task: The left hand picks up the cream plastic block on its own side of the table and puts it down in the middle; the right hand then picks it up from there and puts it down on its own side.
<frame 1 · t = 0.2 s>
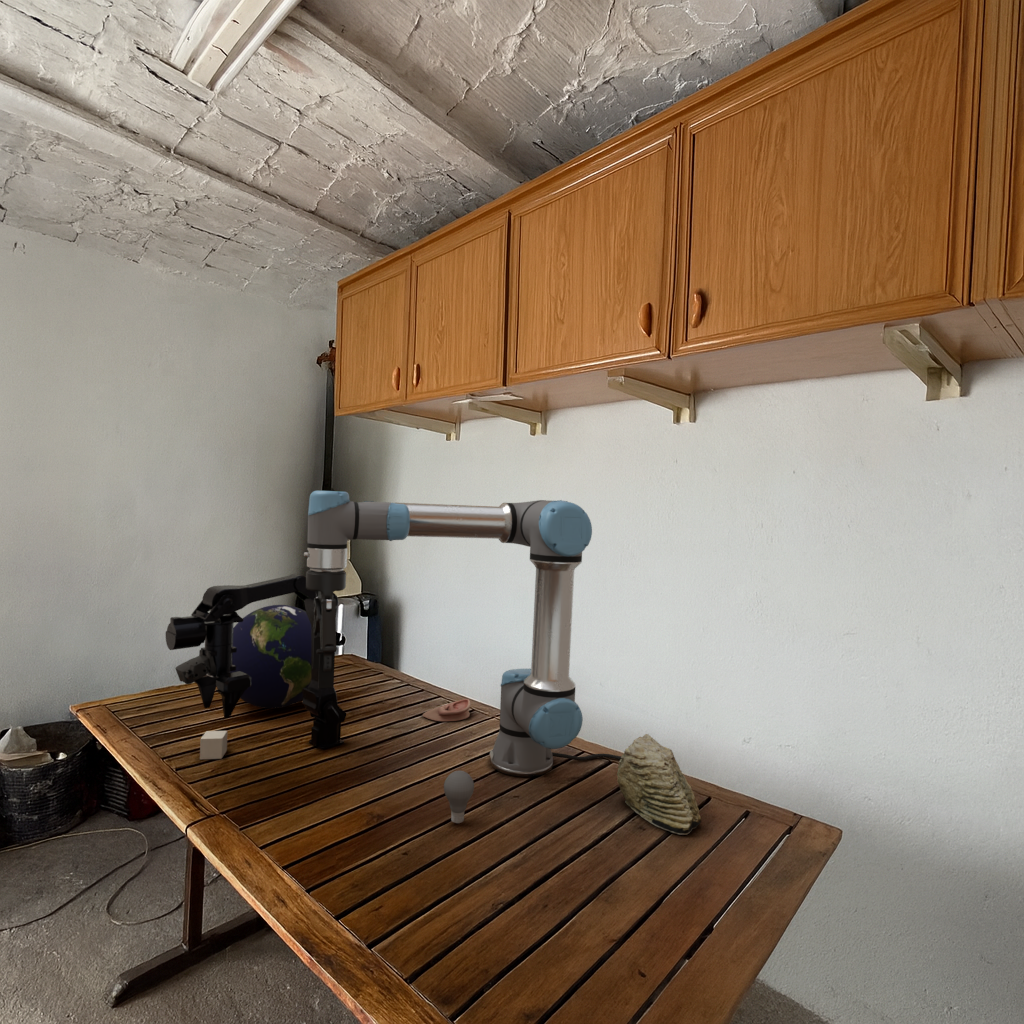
left hand: (216, 712, 141), 14 cm above the table, tool pointing down, fingers open, 9 cm apart
right hand: (322, 677, 124), 28 cm above the table, tool pointing down, fingers open, 13 cm apart
fossil: (654, 815, 132), on the table
block: (213, 754, 152), on the table
light bulb: (457, 822, 126), on the table
anatomical model: (446, 715, 187), on the table
globe: (275, 706, 188), on the table
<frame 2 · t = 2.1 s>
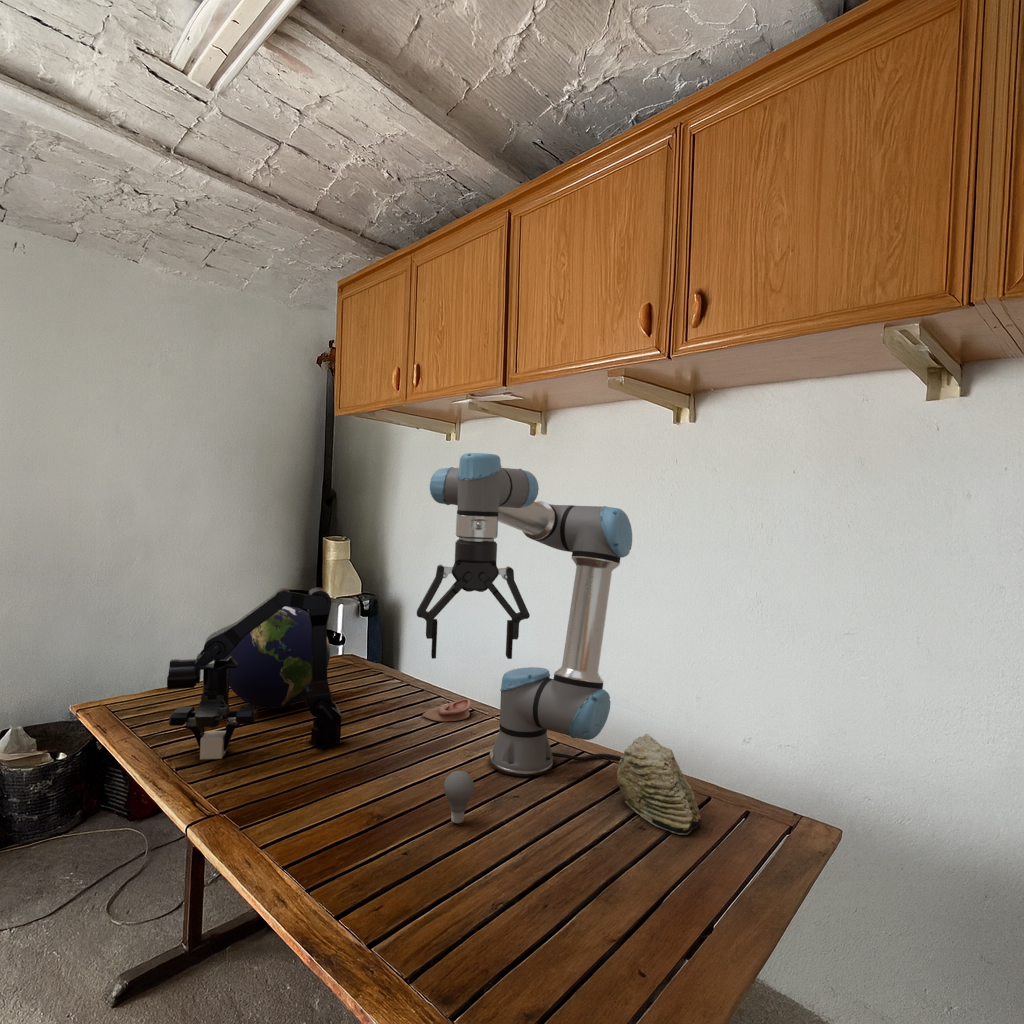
left hand: (213, 750, 152), 1 cm above the table, tool pointing down, fingers closed on block, 5 cm apart
right hand: (471, 657, 114), 36 cm above the table, tool pointing down, fingers open, 13 cm apart
block: (213, 754, 152), on the table, touching left hand
everything else where it was.
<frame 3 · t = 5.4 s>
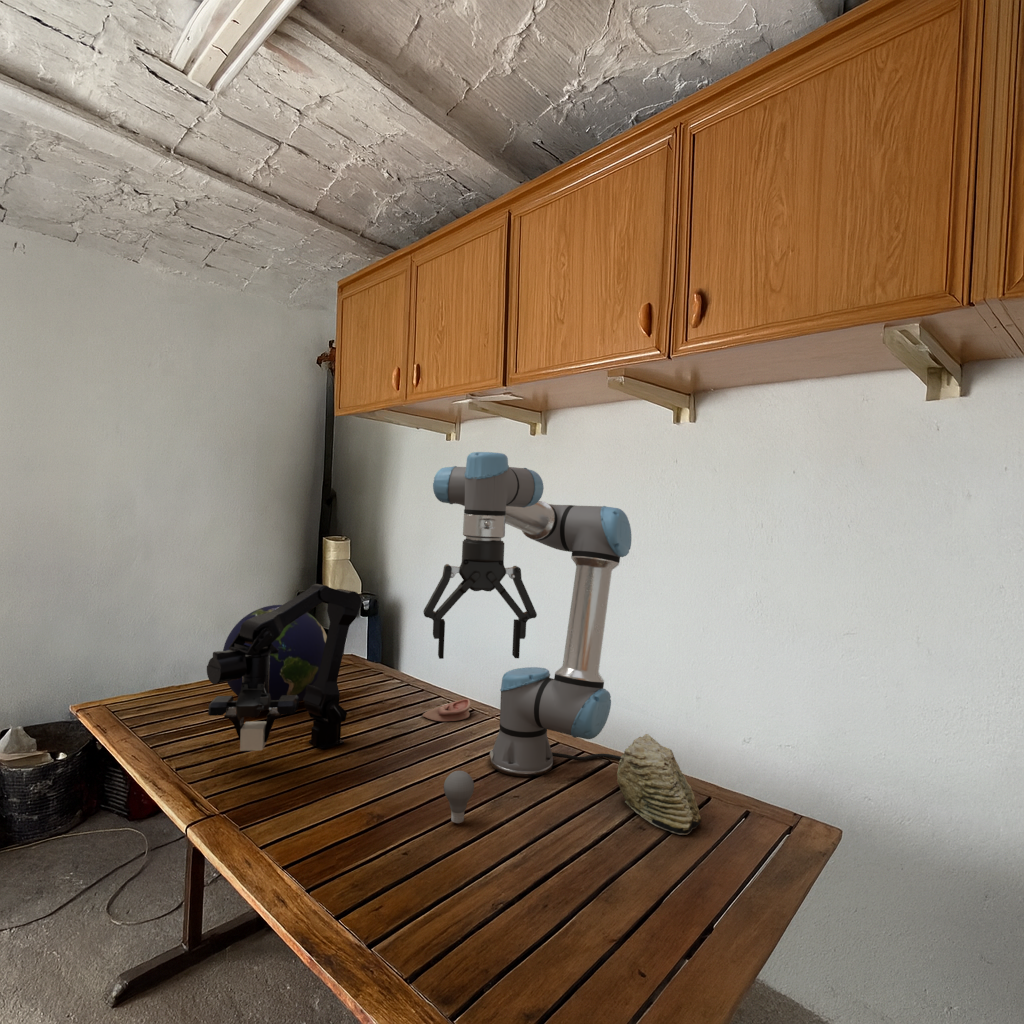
left hand: (253, 742, 146), 6 cm above the table, tool pointing down, fingers closed on block, 5 cm apart
right hand: (478, 656, 114), 36 cm above the table, tool pointing down, fingers open, 13 cm apart
block: (253, 746, 146), point 5 cm above the table, touching left hand
everything else where it was.
when the left hand's fingers open (2 cm above the table, at t = 8.9 s): block drops 1 cm, on the table.
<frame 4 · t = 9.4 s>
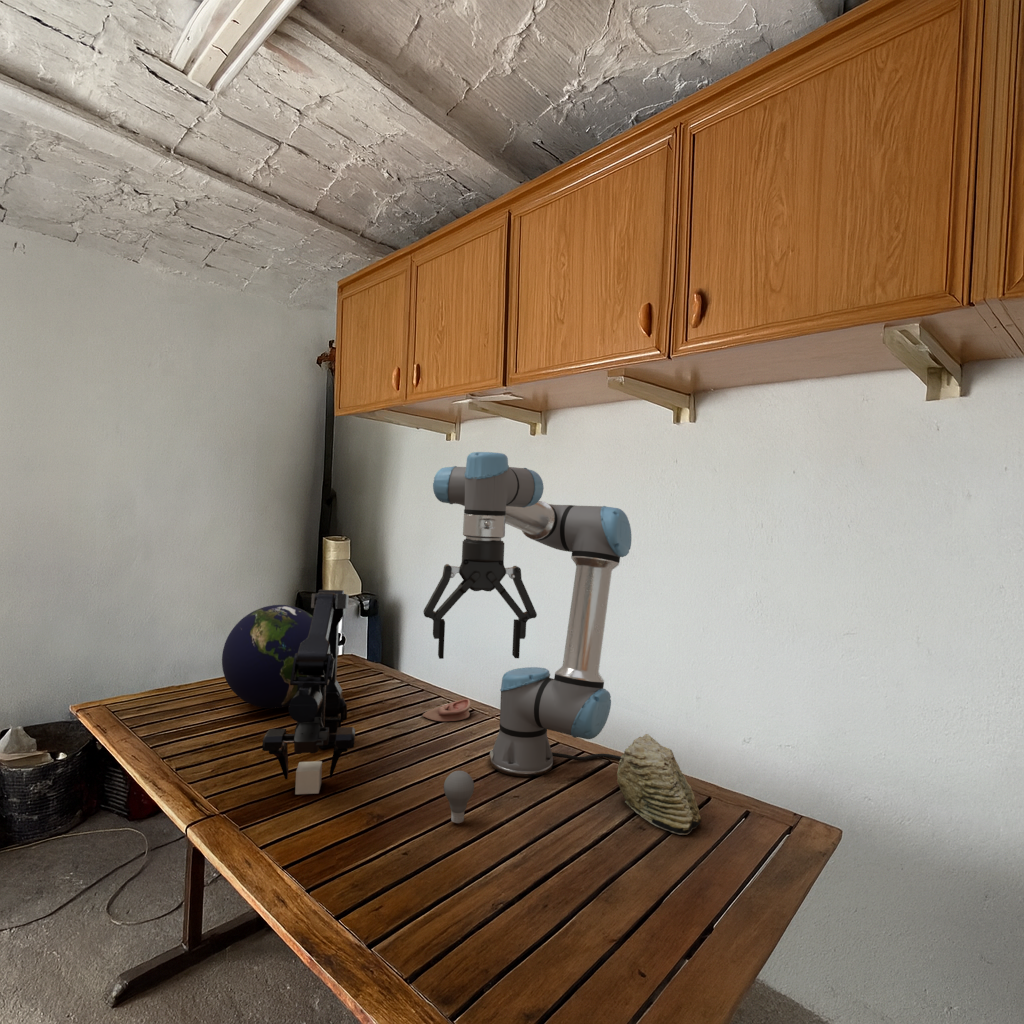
left hand: (308, 777, 137), 2 cm above the table, tool pointing down, fingers open, 9 cm apart
right hand: (478, 656, 114), 36 cm above the table, tool pointing down, fingers open, 13 cm apart
block: (308, 788, 137), on the table
everything else where it was.
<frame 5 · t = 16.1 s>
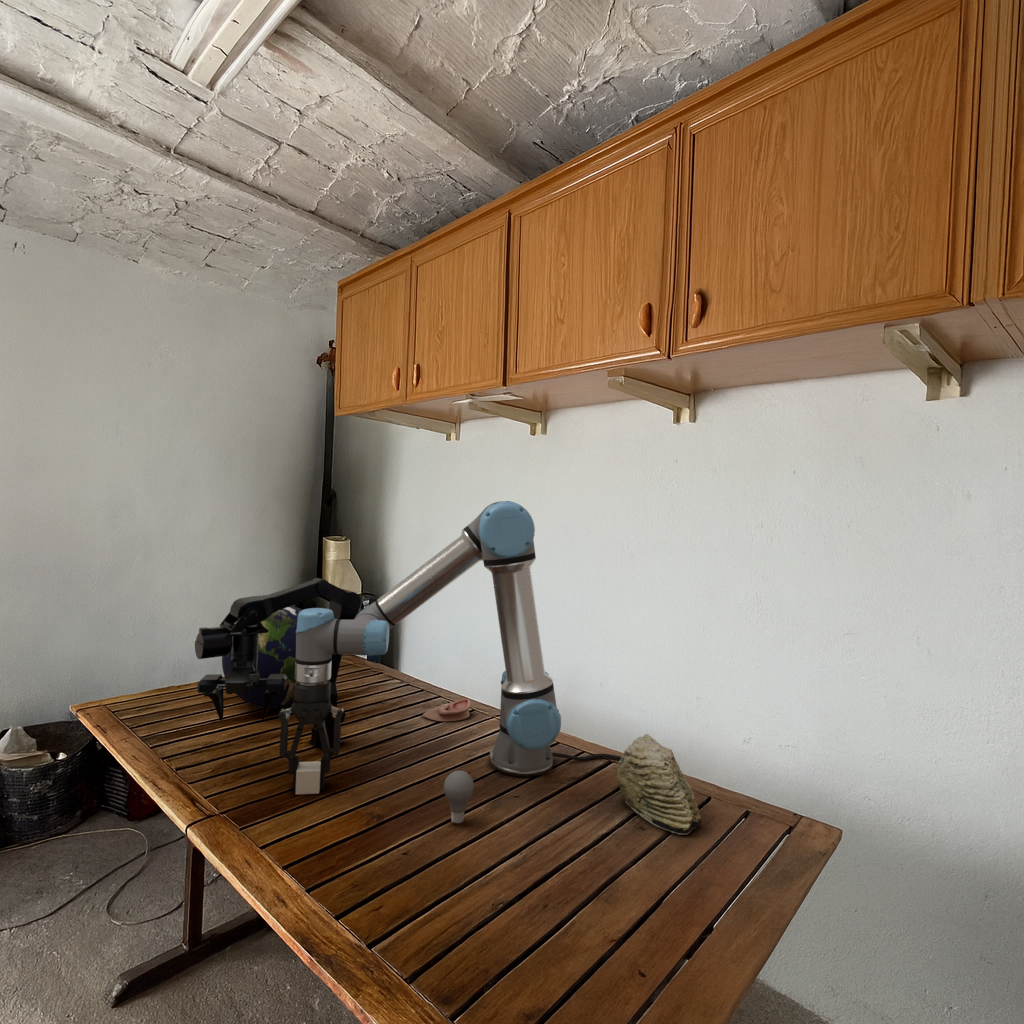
left hand: (242, 719, 148), 10 cm above the table, tool pointing down, fingers open, 9 cm apart
right hand: (308, 787, 137), 0 cm above the table, tool pointing down, fingers closed on block, 5 cm apart
block: (308, 788, 137), on the table, touching right hand
everything else where it was.
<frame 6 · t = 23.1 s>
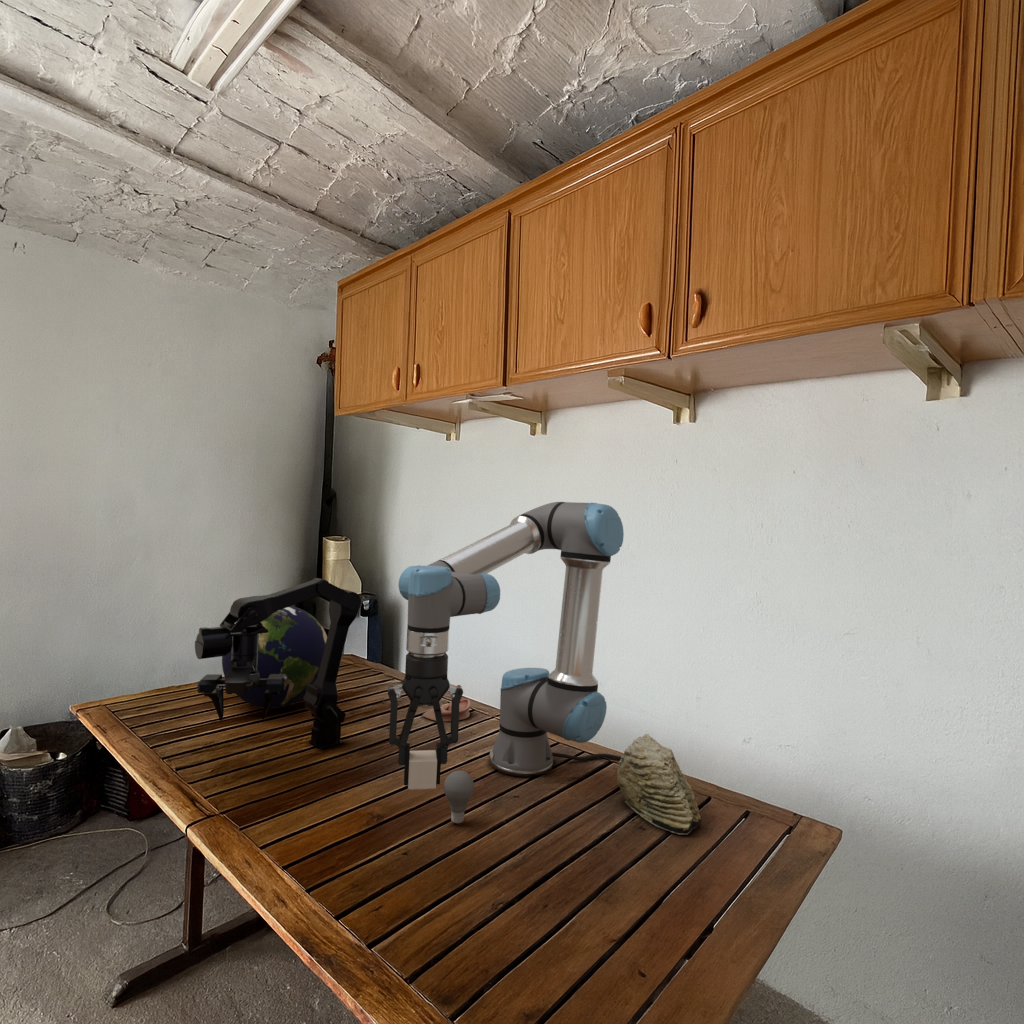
left hand: (242, 719, 148), 10 cm above the table, tool pointing down, fingers open, 9 cm apart
right hand: (421, 781, 114), 13 cm above the table, tool pointing down, fingers closed on block, 5 cm apart
block: (421, 782, 114), point 13 cm above the table, touching right hand
everything else where it was.
when the right hand's fingers open (1 cm above the table, at t = 30.3 s): block stays where it is, on the table.
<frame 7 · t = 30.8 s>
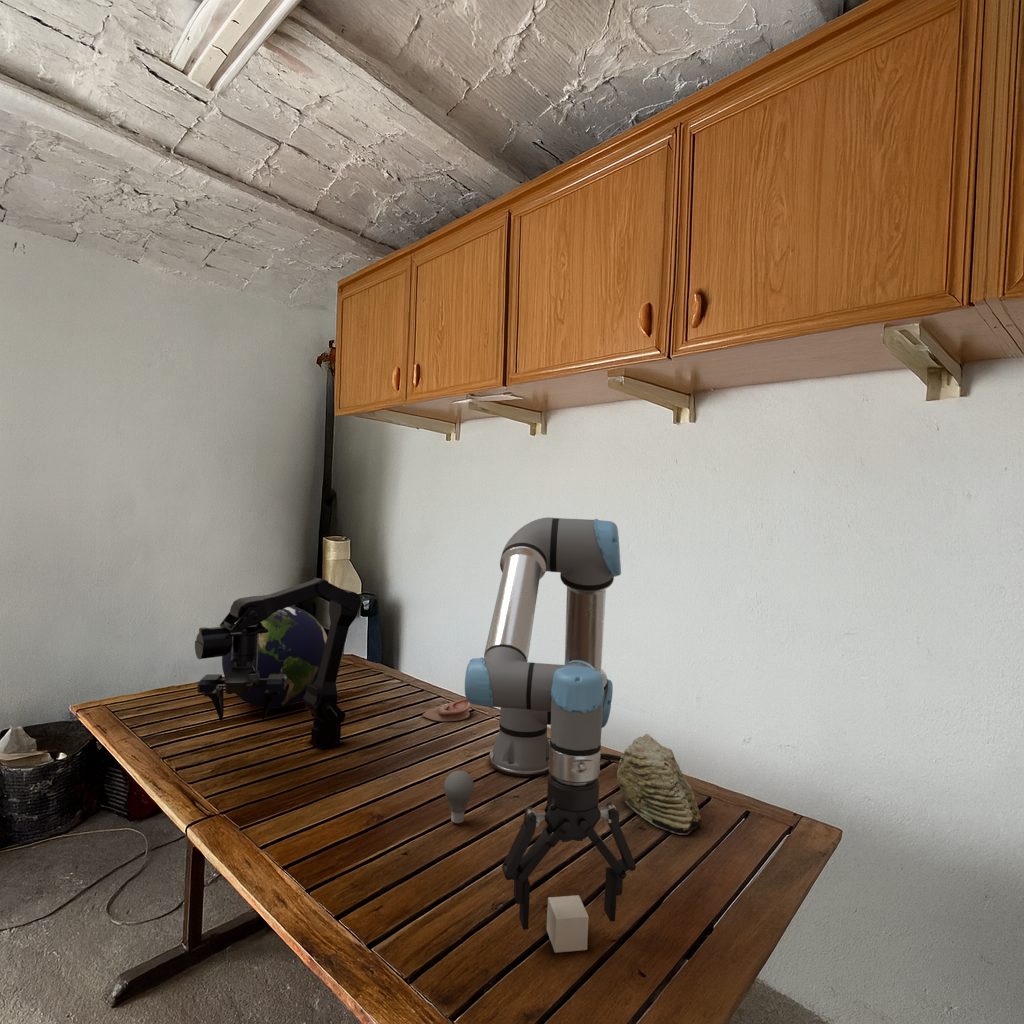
left hand: (242, 719, 148), 10 cm above the table, tool pointing down, fingers open, 9 cm apart
right hand: (567, 919, 93), 3 cm above the table, tool pointing down, fingers open, 12 cm apart
block: (566, 939, 93), on the table
everything else where it was.
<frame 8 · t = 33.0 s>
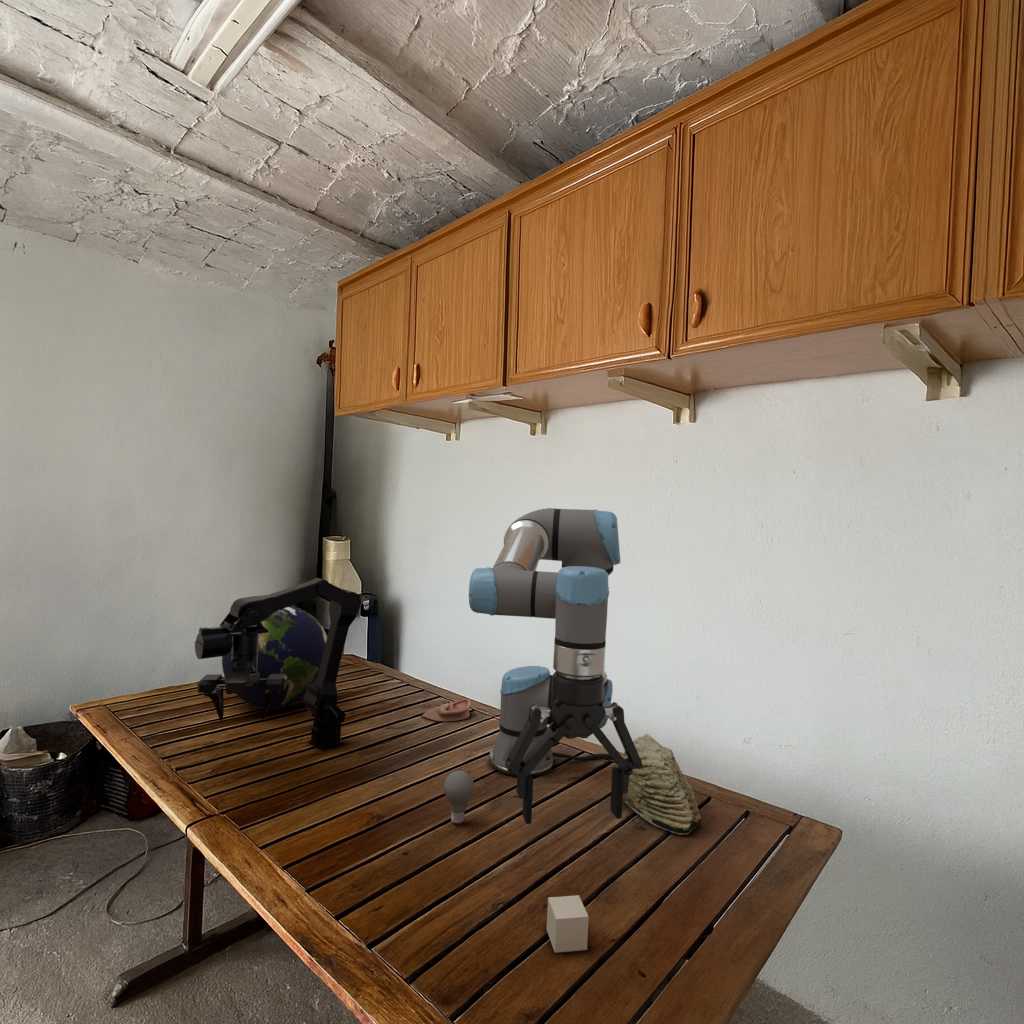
left hand: (242, 719, 148), 10 cm above the table, tool pointing down, fingers open, 9 cm apart
right hand: (571, 816, 93), 18 cm above the table, tool pointing down, fingers open, 13 cm apart
nothing on the table moved.
at the end: block inside the target area (0.0 cm from its centre), on the table; block tilted 0°; the two hands never held the block at the same time; the left hand is holding nothing; the right hand is holding nothing; block at rest at the end (0.0 cm/s) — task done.
